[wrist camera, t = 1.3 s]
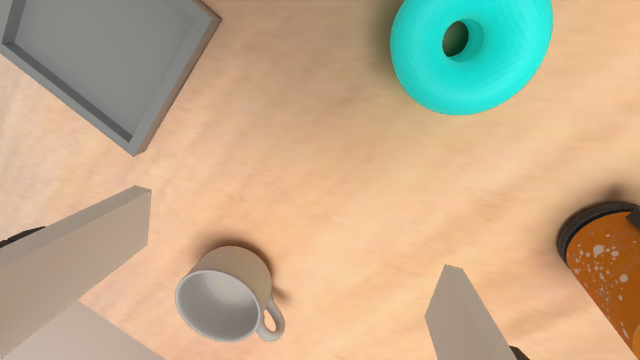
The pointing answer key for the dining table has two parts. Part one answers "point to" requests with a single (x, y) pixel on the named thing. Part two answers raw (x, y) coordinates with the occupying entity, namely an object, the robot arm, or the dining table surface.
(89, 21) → the tray
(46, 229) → the robot arm
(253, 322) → the teacup
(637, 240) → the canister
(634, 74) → the dining table surface
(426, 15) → the donuts
